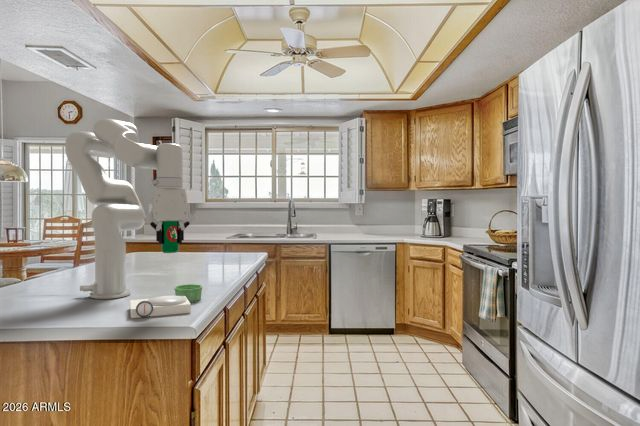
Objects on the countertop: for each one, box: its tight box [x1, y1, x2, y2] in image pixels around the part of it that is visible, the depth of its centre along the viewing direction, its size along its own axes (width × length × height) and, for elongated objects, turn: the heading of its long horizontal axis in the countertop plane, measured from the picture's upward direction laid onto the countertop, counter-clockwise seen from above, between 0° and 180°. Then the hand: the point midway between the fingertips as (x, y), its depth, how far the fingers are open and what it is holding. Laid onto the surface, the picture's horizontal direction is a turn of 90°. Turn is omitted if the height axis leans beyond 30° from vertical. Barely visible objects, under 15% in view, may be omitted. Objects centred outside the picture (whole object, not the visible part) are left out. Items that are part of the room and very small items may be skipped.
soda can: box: [160, 221, 180, 254], centre depth 128 cm, size 5×5×12 cm
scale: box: [129, 295, 192, 319], centre depth 124 cm, size 16×13×4 cm
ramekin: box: [173, 283, 203, 303], centre depth 139 cm, size 9×9×4 cm
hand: (170, 242), depth 128 cm, fingers closed on soda can, 5 cm apart
